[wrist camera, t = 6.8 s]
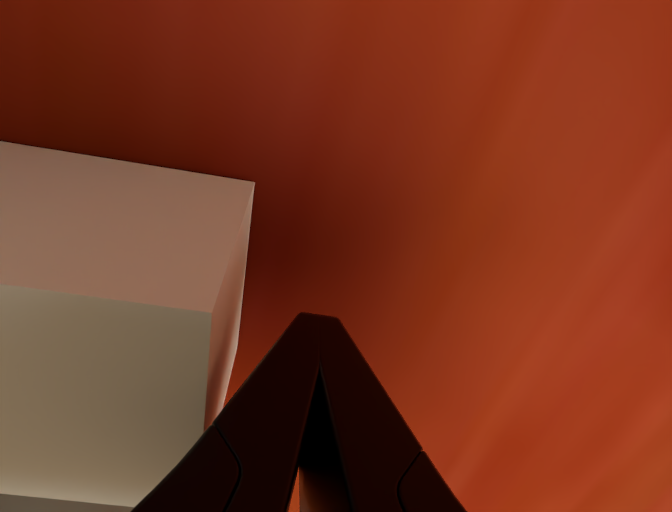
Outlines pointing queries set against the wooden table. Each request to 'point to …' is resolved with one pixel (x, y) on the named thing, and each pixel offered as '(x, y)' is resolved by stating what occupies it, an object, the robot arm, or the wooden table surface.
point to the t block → (112, 319)
